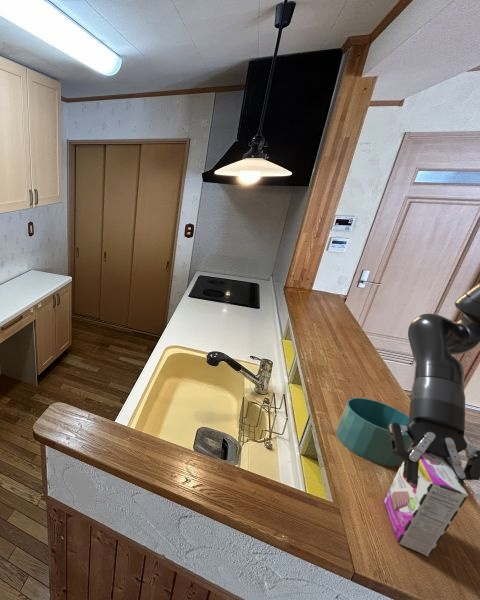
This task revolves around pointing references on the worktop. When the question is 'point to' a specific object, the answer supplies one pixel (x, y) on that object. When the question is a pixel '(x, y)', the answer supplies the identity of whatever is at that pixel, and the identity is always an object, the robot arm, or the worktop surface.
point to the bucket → (371, 430)
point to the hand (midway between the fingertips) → (431, 490)
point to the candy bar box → (424, 504)
